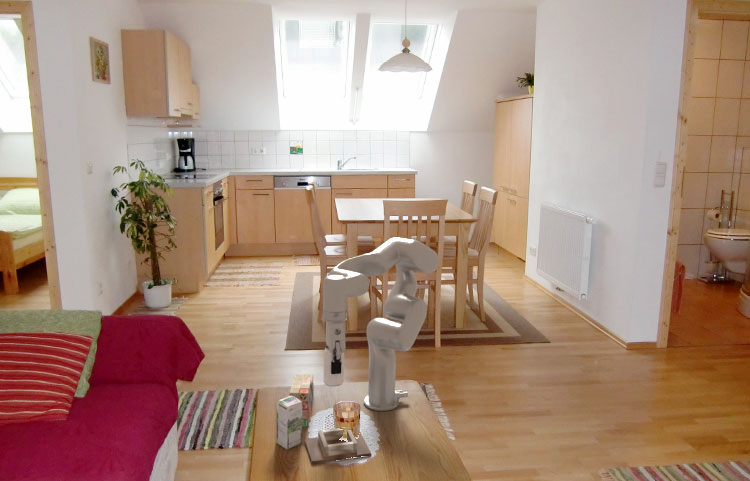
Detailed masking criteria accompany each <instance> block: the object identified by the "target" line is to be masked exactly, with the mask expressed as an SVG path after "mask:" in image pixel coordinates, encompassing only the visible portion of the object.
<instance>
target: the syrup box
mask: <svg viewBox="0 0 750 481" xmlns="http://www.w3.org/2000/svg"><path fill="white" fill-rule="evenodd" d="M302 439H303V427H302V402H301V401H300V400H299V399H297V398H296V397H294V396H290V395H289V396H287V397H284V398H281V399H278V400H276V443H277V444H278V445H279V446H281V447H282V448H284V449H286V450H287V451H288V450H291V449H292V448H294V447H297V446H299V445H301V444H302V443H303V440H302Z"/></svg>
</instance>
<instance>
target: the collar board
mask: <svg viewBox="0 0 750 481" xmlns="http://www.w3.org/2000/svg"><path fill="white" fill-rule="evenodd" d="M340 428H341V427H340ZM340 428H330V429H329V428H328V429H323V430H318V431H317V432H318V433H317V435H318V436H317V437H310V438H304V443H305V446H306V450H307V453H308V456H309V457H308V458H310V459H309V460H310V461H311V463H310V464H311V465H317V464H324V463H331V461H333V462H337V461H336V460H340V461H343V460H342V459H346V458H351V457H352V458H353V457H361V456H368V457H372V451H371V450H370V448H369V446H368V444H367V442H366V440H365V438H364V436H363V434H362V432H361V431H359V432H360V434H359V438H358V439H355V437H354V435H353V433H354V432H353V431H352V430H347V440H348V442H346V441H344V440H342V441H341V440H339V439H340V438H341V437H342V436H343V432H344V430H343V429H340ZM361 458H362V457H361Z"/></svg>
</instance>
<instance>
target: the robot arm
mask: <svg viewBox="0 0 750 481" xmlns="http://www.w3.org/2000/svg"><path fill="white" fill-rule="evenodd" d="M439 264H440V259H439V255H438V253H437V252H436V251H435V250H434V249H432V248H431V247H428V245H426V244H424V243H423V242H422V241H419V240H417V239H412V238H411V239H410V238H405V237H397V236H395V237H391V238H389V239H387V240H386V241H384V242H383V243H382V244H380V245H379V246H378V247H376V248H375V249H373V250H372V251H371V252H368V253H364V254H360V255H358V256H357V255H356V256H354V257H351V258H347V259H345V260H343V261H342V262H340V263H338V264H337V265H336V266H334V267H333V268H332V269H331V270H330V271H329V273H327V276H325V277H324V279H323V284H322V285H323V288H322V289H323V291H322V293H323V294H322V321H323V322H325V344H326V345H327V347H328V349H329V351H330V353H332V362H331V374H341V362H342V361H341V351H342V352H343V353H344V354H345V352H346V325H345V322H346V321H347V320H348V299H349V298H351V297H352V298H355V297H361V296H364V295H365V294H366V293H367V292H368V290H369V289H370V279H369V277H376V276H382V275H384V274H385V273H387V272H388V271H390V269H391V268H393V267H394V266H395V271H396V272H395V273H396V279H395V282H394V284H393V286H392V288H391V289H390V292H389V294H388V296H387V298H386V300H385V301H384V303H383V307H382V312H383V314H384V315H385V317H387V318H384V317H375V318H372V319H371V320H370V321H369V322H368V323H367V326H366V339H367V344H368V394H367V395H366V396H365V397H364V399H363V404H364V406H365V407H366V408H368V409H370V410H374V411H379V412H385V411H386V412H387V411H390V410H391V411H392V410H395V409H396V408H397V407H399V405H400V399H402V398H408V397H409V394H408V393H409V392H408V391H403V390H402V389H399V390H396V370H397V369H396V366H397V365H396V363H397V356H396V352H395V350H396V351H399V352H407V351H409V350H410V349H411V348H412V346H413V345H414V344H415V342H416V339H417V337H418V335H419V333H420V331H421V329H422V327H423V324H424V323H425V320H426V317H427V313H428V312H427V311H428V307H427V303H426V301H425V300H424V299H422V298H420V297H416V294H417V292H418V288H419V284H418V280H417V277H416V275H415V272H417V273H423V274H432V273H434V272H436V270H437V269H438V267H439ZM326 345H325V346H326ZM333 350H336V352H333ZM334 354H336V356H335V357H334Z"/></svg>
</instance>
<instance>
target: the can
mask: <svg viewBox="0 0 750 481" xmlns="http://www.w3.org/2000/svg"><path fill="white" fill-rule="evenodd" d="M333 352H336V350H333ZM335 356H336V354H334V357H335ZM341 361H342V362H341V374H331V362H332V353H330V351H329V349H328V347H327V345H325V348H324V351H323V383H324V385H326V386H328V387H340V386H342V385H343V384H344V382H345V353H343V352H342V351H341Z"/></svg>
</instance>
